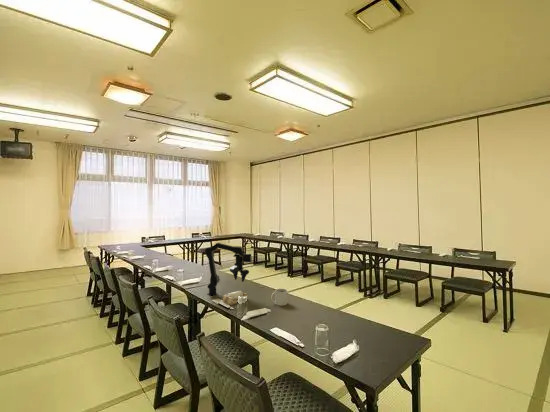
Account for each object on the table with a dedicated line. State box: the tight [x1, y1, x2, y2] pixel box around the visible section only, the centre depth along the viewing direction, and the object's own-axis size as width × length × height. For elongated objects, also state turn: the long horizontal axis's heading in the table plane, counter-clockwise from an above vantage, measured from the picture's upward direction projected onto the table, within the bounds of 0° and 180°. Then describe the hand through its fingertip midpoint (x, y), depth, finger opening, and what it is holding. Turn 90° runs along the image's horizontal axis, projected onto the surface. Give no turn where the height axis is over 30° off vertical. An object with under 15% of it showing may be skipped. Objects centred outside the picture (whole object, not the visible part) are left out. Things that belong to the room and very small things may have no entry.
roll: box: [227, 290, 244, 300], centre depth 213 cm, size 10×6×6 cm, turn 135°
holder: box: [222, 291, 248, 306], centre depth 213 cm, size 11×16×5 cm
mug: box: [270, 288, 288, 307], centre depth 207 cm, size 11×10×10 cm
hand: (239, 280), depth 226 cm, fingers open, 9 cm apart
